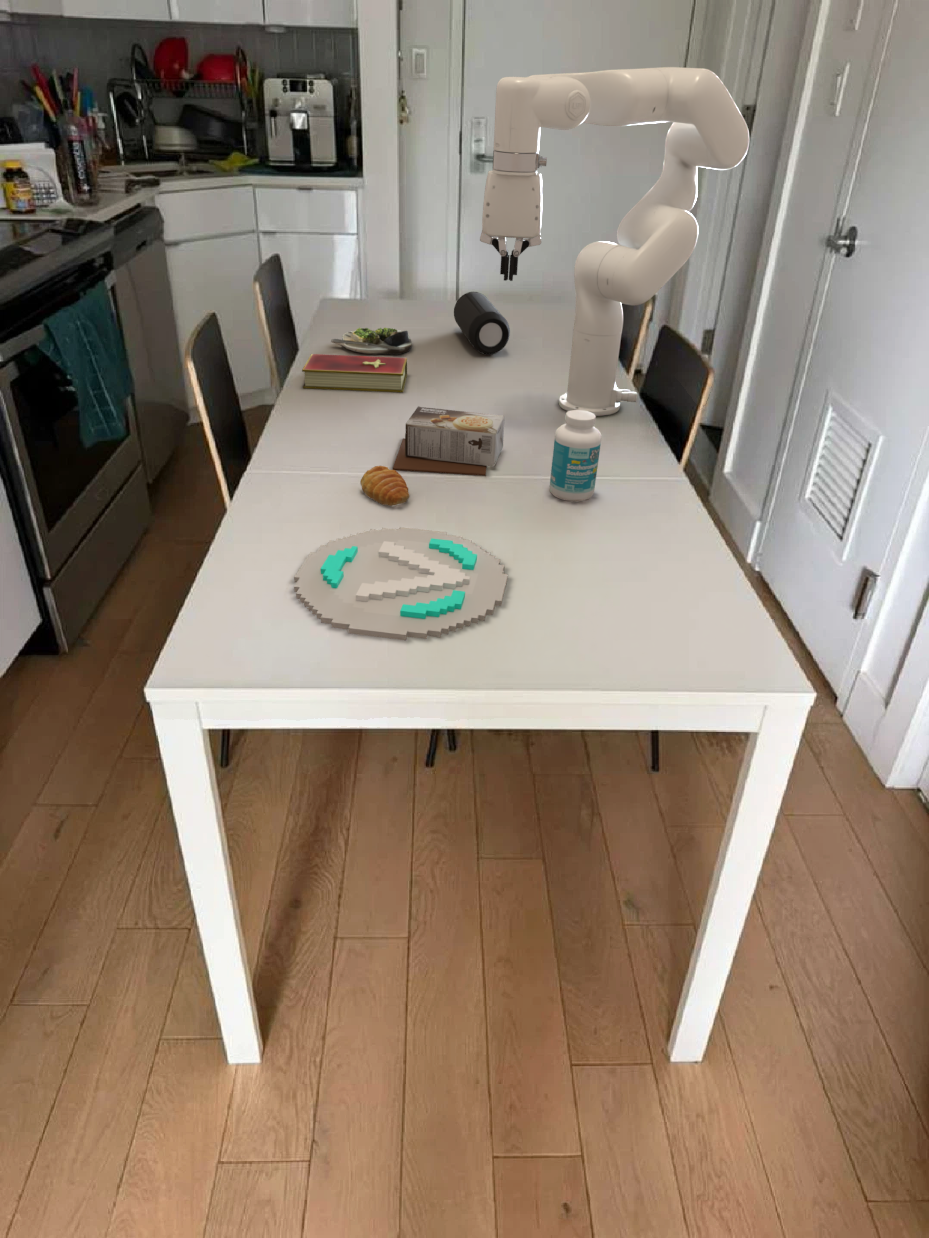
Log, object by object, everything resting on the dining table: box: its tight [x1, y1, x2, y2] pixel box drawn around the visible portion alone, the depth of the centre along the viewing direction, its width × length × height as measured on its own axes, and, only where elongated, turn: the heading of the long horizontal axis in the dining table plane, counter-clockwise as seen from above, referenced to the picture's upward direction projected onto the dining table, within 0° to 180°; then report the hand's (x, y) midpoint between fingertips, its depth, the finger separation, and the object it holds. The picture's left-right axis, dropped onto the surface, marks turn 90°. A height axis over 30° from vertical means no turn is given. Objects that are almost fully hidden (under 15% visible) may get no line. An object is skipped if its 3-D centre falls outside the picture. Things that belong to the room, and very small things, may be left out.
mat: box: [391, 437, 488, 477], centre depth 157 cm, size 16×14×1 cm
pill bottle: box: [549, 410, 602, 502], centre depth 142 cm, size 8×7×14 cm
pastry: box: [360, 465, 410, 507], centre depth 141 cm, size 9×7×4 cm
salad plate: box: [330, 327, 413, 355], centre depth 212 cm, size 19×18×5 cm
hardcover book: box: [301, 353, 408, 393], centre depth 190 cm, size 12×21×4 cm, turn 89°
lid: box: [293, 526, 509, 641], centre depth 119 cm, size 28×28×2 cm
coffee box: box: [404, 405, 506, 467], centre depth 156 cm, size 9×6×16 cm
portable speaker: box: [453, 291, 511, 356], centre depth 217 cm, size 26×10×10 cm, turn 11°
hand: (508, 279), depth 157 cm, fingers closed
